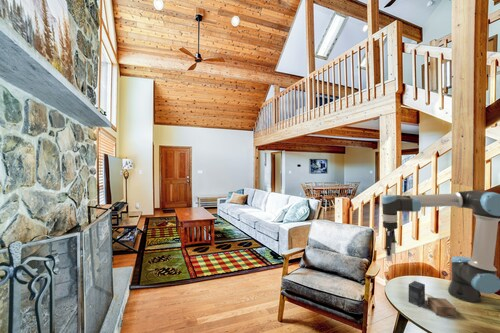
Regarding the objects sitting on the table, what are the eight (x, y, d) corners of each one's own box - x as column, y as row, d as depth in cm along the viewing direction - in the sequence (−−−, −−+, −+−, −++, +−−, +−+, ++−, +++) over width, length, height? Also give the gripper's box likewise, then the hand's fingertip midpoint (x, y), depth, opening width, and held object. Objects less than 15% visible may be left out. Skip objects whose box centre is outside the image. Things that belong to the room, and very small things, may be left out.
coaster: (430, 294, 147) (430, 293, 147) (438, 302, 139) (438, 301, 139) (413, 293, 149) (413, 292, 149) (420, 301, 141) (420, 300, 141)
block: (445, 307, 134) (445, 298, 134) (456, 317, 126) (455, 308, 126) (427, 306, 136) (427, 297, 136) (436, 315, 127) (436, 306, 127)
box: (419, 306, 135) (419, 288, 135) (408, 302, 140) (408, 284, 140) (425, 302, 140) (425, 284, 140) (414, 297, 144) (414, 280, 144)
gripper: (386, 216, 154) (387, 249, 154) (378, 224, 135) (379, 262, 135) (400, 218, 150) (401, 252, 150) (394, 226, 130) (395, 265, 130)
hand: (391, 257), depth 142 cm, fingers open, 13 cm apart
